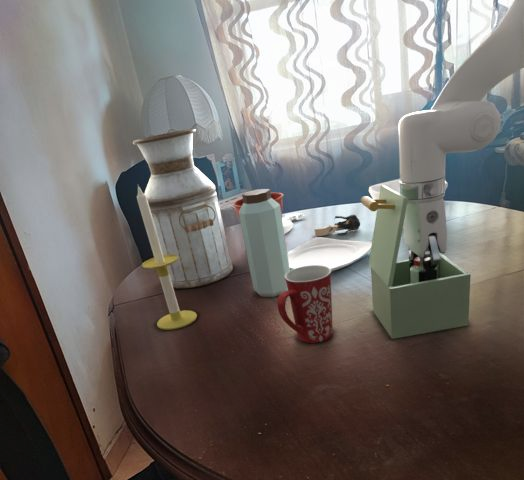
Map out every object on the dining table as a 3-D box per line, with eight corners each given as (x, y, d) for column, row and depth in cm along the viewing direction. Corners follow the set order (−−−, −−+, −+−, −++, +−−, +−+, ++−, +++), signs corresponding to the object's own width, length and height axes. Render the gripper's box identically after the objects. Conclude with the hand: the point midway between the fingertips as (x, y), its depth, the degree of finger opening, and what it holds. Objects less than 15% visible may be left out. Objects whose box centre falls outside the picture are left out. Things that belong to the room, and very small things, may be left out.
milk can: (247, 272, 136) (218, 125, 117) (180, 296, 128) (138, 142, 109) (214, 257, 155) (184, 128, 136) (154, 276, 148) (114, 143, 129)
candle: (188, 307, 120) (153, 177, 104) (203, 319, 111) (166, 180, 96) (152, 321, 116) (110, 188, 101) (164, 334, 108) (120, 191, 93)
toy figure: (318, 241, 151) (363, 230, 151) (315, 222, 149) (360, 211, 149) (315, 238, 158) (358, 228, 158) (311, 220, 156) (355, 209, 155)
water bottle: (293, 294, 115) (278, 192, 103) (254, 301, 116) (234, 200, 104) (291, 280, 124) (276, 184, 112) (254, 286, 125) (236, 191, 113)
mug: (315, 320, 100) (308, 261, 94) (346, 331, 94) (340, 268, 87) (271, 344, 94) (260, 283, 88) (301, 357, 88) (291, 292, 81)
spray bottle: (255, 238, 167) (282, 219, 186) (283, 237, 162) (308, 218, 181) (254, 230, 166) (281, 212, 184) (282, 228, 161) (307, 210, 179)
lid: (384, 185, 87) (357, 184, 87) (408, 198, 76) (377, 197, 75) (372, 264, 94) (347, 263, 94) (392, 286, 83) (363, 286, 83)
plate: (264, 270, 135) (262, 261, 134) (316, 243, 149) (315, 235, 148) (331, 281, 119) (330, 271, 118) (383, 250, 133) (382, 241, 131)
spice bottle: (431, 297, 94) (431, 253, 89) (436, 306, 90) (436, 261, 85) (409, 300, 94) (408, 256, 90) (412, 309, 91) (412, 263, 86)
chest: (440, 299, 99) (441, 253, 94) (468, 325, 88) (470, 274, 83) (373, 311, 100) (370, 266, 95) (392, 339, 88) (389, 289, 83)
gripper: (464, 193, 74) (460, 298, 83) (425, 178, 89) (425, 268, 98) (418, 202, 74) (419, 305, 83) (386, 185, 89) (390, 274, 98)
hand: (422, 284), depth 90 cm, fingers closed on spice bottle, 4 cm apart
